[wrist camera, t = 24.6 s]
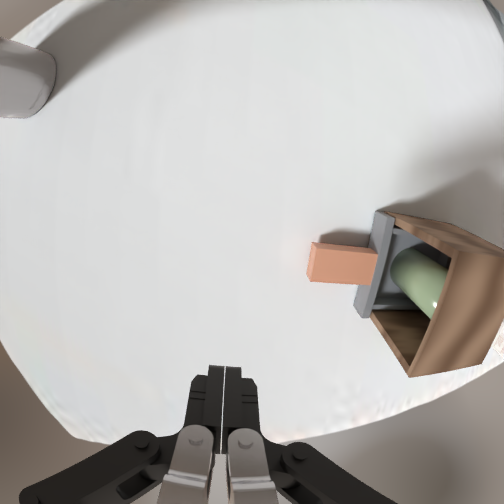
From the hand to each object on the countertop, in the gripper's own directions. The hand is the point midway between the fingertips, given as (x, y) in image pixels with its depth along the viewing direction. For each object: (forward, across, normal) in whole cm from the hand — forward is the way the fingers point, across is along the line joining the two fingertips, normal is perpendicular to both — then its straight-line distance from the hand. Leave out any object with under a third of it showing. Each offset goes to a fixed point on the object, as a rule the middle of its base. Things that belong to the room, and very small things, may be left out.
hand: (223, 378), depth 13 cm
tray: (+19, -17, 0) cm, 25 cm away
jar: (+18, -21, 0) cm, 27 cm away
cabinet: (+19, -22, 0) cm, 29 cm away
